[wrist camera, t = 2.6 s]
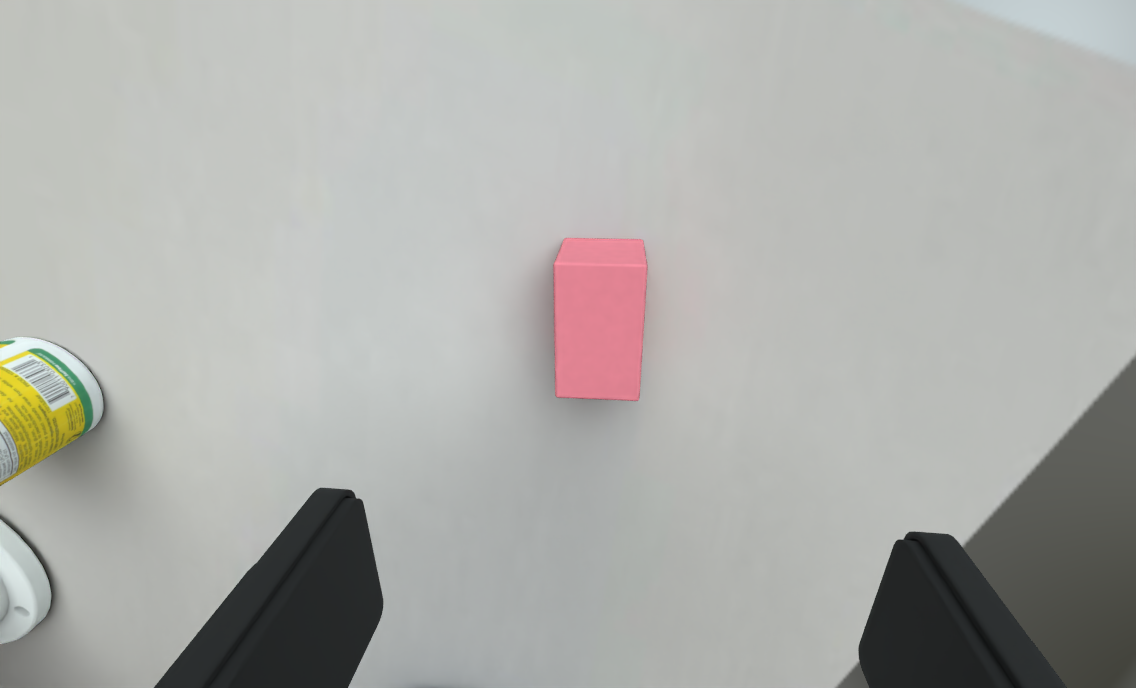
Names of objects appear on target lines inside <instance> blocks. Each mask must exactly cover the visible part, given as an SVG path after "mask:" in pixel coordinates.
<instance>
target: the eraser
mask: <svg viewBox="0 0 1136 688" xmlns="http://www.w3.org/2000/svg"><path fill="white" fill-rule="evenodd" d="M553 269H554V339H555V395H556V397H559V398H582V399H605V400H628V401H638V400H639V396H640V380H641V363H642V347H643V331H644V315H645V298H646V282H647V261H646V255H645V249H644V243H643V240H641V239H588V238H565V239H564V241H563V243H562V245H561V248H560V250H559V253H558V255H557V257H556V260H555V262H554V265H553Z"/></svg>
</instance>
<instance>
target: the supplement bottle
mask: <svg viewBox="0 0 1136 688" xmlns="http://www.w3.org/2000/svg"><path fill="white" fill-rule="evenodd" d="M102 413H103V397H102V393H101V390H100V387H99V385H98V383H97V381H96V379H95V378H94V376H93V375H92V374H91V372H90V371H89V370H88V368H87V367H86V366H85V365H84V364H83V363H82V362H81V361H80V360H79V359H77V358H76V357H75V356H73V355H72V354H71V353H69V352H68V351H66V350H65V349H63V348H61V347H59V346H57V345H55V344H53V343H50V342H48V341H44V340H41V339H36V338H29V337H15V338H11V339H7V340H3V341H1V342H0V486H1V485H2V484H4V483H6V482H7V481H9V480H11V479H13V478H14V477H16V476H18V475H19V474H21V473H22V472H24V471H26V470H27V469H29V468H31V467H32V466H34V465H35V464H37V463H39V462H40V461H42V460H44V459H45V458H47V457H49V456H50V455H52V454H53V453H55V452H57V451H58V450H60V449H62V448H63V447H64V446H66V445H68V444H69V443H71V442H73V441H74V440H76V439H77V438H79V437H80V436H82V435H83V434H85V433H87V432H88V431H90V430H91V429H93V428H94V427H95V426H96V425H97V423H98V422H99V421H100V419H101V417H102Z"/></svg>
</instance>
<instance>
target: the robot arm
mask: <svg viewBox="0 0 1136 688" xmlns="http://www.w3.org/2000/svg"><path fill="white" fill-rule="evenodd" d="M50 603H51V589H50V584H49V580H48V577H47V575H46V573H45V571H44V568H43V566H42V564H41V563H40V561H39V560H38V558H37V557H36V555H35V554H34V552H33V551H32V550H31V548H30V547H29V546H28V545H27V544H26V543H25V542H24V541H23V540H22V538H21V537H20V536H19V535H18V534H17V533H16V532H15V531H14V530H12V529H11V528H10V527H9V526H8V525H7V524H6V523H4V522H3V521H2V520H1V519H0V644H5V643H9V642H12V641H15V640H18V639H20V638H21V637H23V636H24V635H26V634H27V633H29V632H30V631H31V630H32V629H33V628H34V627H35V626H36V625H37V624H38V623H39V622H40V621H42V620H43V619H44V618H45V617H46V615H47V612H48V610H49V608H50ZM382 611H383V596H382V591H381V587H380V582H379V577H378V572H377V567H376V562H375V557H374V553H373V548H372V543H371V538H370V533H369V528H368V523H367V519H366V514H365V509H364V504H363V501H362V500H361V499H356V497H355V494H354V492H353V491H352V490H345V489H331V488H319V489H317V490H316V491H315V492H314V493H313V494H312V495H311V496H310V497H309V499H308V500H307V501H306V502H305V504H304V505H303V506H302V507H301V509H300V510H299V511H298V512H297V514H296V515H295V516H294V517H293V519H292V520H291V521H290V522H289V524H288V525H287V526H286V527H285V529H284V530H283V531H282V532H281V534H280V535H279V536H278V537H277V539H276V540H275V541H274V542H273V544H272V545H271V546H270V547H269V548H268V550H267V551H266V552H265V553H264V555H263V556H262V557H261V558H260V560H259V561H258V562H257V563H256V564H255V565H254V566H253V567H252V568H251V569H250V570H249V571H248V572H247V573H246V574H245V575H244V577H243V578H242V579H241V580H240V582H239V583H238V584H237V585H236V587H235V588H234V589H233V590H232V592H231V593H230V594H229V595H228V596H227V598H226V599H225V600H224V601H223V603H222V604H221V605H220V606H219V608H218V609H217V610H216V611H215V613H214V614H213V615H212V616H211V618H210V619H209V620H208V621H207V623H206V624H205V625H204V626H203V627H202V629H201V630H200V631H199V632H198V634H197V635H196V636H195V637H194V639H193V640H192V641H191V642H190V644H189V645H188V646H187V647H186V649H185V650H184V651H183V652H182V653H181V655H180V656H179V657H178V658H177V660H176V661H175V662H174V663H173V665H172V666H171V667H170V668H169V670H168V671H167V672H166V673H165V675H164V676H163V677H162V678H161V680H160V681H159V682H158V683H157V684H156V686H155V687H154V688H348V686H349V684H350V682H351V680H352V678H353V676H354V674H355V672H356V669H357V667H358V665H359V663H360V661H361V659H362V657H363V655H364V653H365V651H366V648H367V646H368V644H369V642H370V640H371V638H372V636H373V634H374V632H375V630H376V628H377V625H378V623H379V621H380V618H381V615H382ZM859 660H860V664H861V668H862V671H863V673H864V675H865V678H866V680H867V683H868V685H869V688H1067V687H1066V686H1065V684H1064V683H1063V682H1062V680H1061V679H1060V678H1059V676H1058V675H1057V674H1056V672H1055V671H1054V670H1053V668H1052V667H1051V666H1050V664H1049V663H1048V662H1047V660H1046V659H1045V657H1044V656H1043V655H1042V653H1041V652H1040V651H1039V650H1038V648H1037V647H1036V645H1035V644H1034V643H1033V642H1032V641H1031V639H1030V638H1029V637H1028V635H1027V634H1026V633H1025V631H1024V630H1023V629H1022V627H1021V626H1020V625H1019V623H1018V622H1017V620H1016V619H1015V618H1014V616H1013V615H1012V614H1011V612H1010V611H1009V610H1008V608H1007V607H1006V606H1005V604H1004V603H1003V602H1002V601H1001V599H1000V598H999V597H998V595H997V594H996V592H995V591H994V590H993V588H992V587H991V586H990V584H989V583H988V582H987V580H986V579H985V578H984V576H983V575H982V573H981V572H980V571H979V569H978V568H977V567H976V566H975V564H974V563H973V561H972V560H971V559H970V557H969V556H968V555H967V554H966V552H965V551H964V550H963V548H962V547H961V545H960V544H959V543H958V541H957V540H956V539H955V538H954V537H952V536H951V535H949V534H939V533H925V532H909V533H908V534H906V536H905V538H904V540H897V541H896V542H895V544H894V546H893V549H892V552H891V555H890V558H889V561H888V563H887V566H886V569H885V572H884V575H883V578H882V581H881V583H880V586H879V589H878V592H877V595H876V598H875V601H874V603H873V606H872V609H871V612H870V615H869V618H868V621H867V624H866V626H865V629H864V632H863V635H862V638H861V641H860V644H859Z"/></svg>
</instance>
